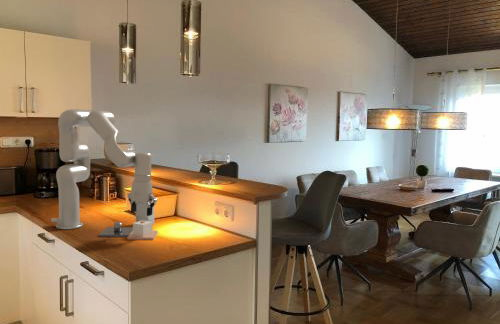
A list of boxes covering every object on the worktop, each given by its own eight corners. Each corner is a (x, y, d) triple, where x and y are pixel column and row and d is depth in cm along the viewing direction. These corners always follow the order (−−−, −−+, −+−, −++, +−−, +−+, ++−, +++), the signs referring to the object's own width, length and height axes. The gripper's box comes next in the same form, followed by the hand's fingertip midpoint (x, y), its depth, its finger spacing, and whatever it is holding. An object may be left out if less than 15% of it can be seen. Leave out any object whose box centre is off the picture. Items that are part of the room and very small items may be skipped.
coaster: (127, 239, 193) (127, 237, 193) (132, 232, 205) (132, 230, 205) (153, 239, 194) (153, 237, 194) (157, 232, 206) (157, 230, 205)
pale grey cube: (132, 234, 198) (132, 221, 197) (142, 231, 203) (142, 219, 203) (143, 236, 195) (143, 223, 194) (152, 233, 200) (152, 221, 200)
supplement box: (154, 223, 223) (155, 200, 222) (147, 226, 216) (147, 202, 215) (142, 222, 225) (142, 199, 224) (135, 225, 218) (135, 201, 217)
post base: (98, 236, 196) (98, 226, 195) (107, 229, 210) (107, 219, 209) (129, 237, 197) (129, 226, 196) (135, 229, 211) (135, 219, 210)
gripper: (123, 176, 197) (122, 212, 199) (151, 181, 189) (150, 218, 191) (134, 175, 204) (132, 209, 206) (162, 179, 196) (160, 215, 198)
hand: (141, 213), depth 198 cm, fingers open, 9 cm apart
